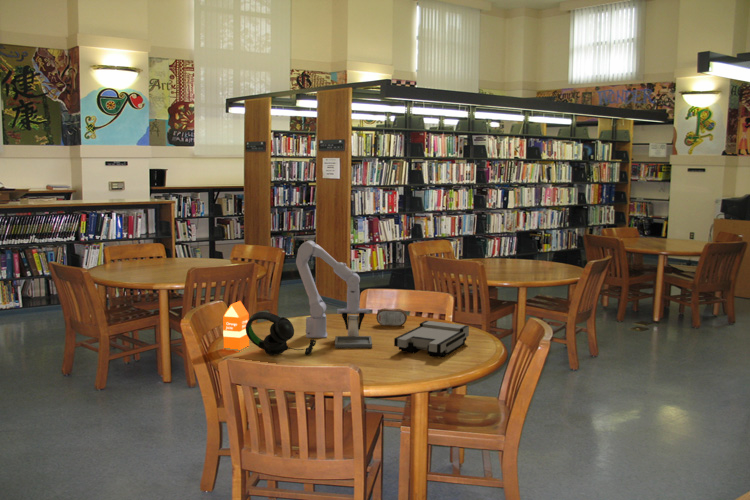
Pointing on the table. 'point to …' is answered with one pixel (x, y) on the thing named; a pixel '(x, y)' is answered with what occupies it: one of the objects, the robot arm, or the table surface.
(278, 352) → the headset
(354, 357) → the table surface
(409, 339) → the game console
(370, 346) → the tray
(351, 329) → the cylinder
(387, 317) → the tin
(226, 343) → the orange juice
